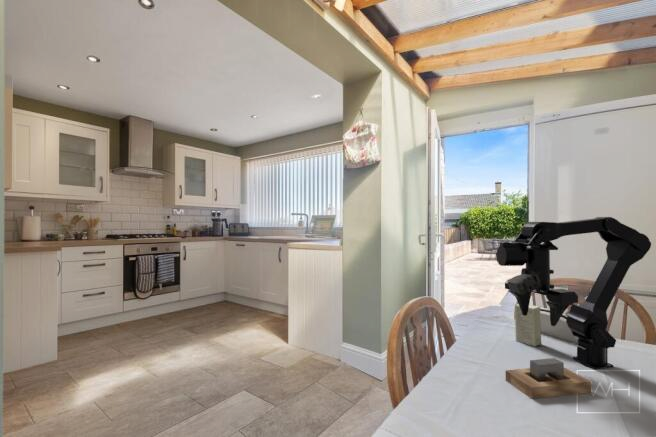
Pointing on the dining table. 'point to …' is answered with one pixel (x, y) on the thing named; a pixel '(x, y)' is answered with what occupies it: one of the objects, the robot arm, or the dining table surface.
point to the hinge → (560, 328)
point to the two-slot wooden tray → (548, 384)
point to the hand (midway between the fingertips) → (538, 320)
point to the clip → (546, 369)
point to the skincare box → (528, 325)
